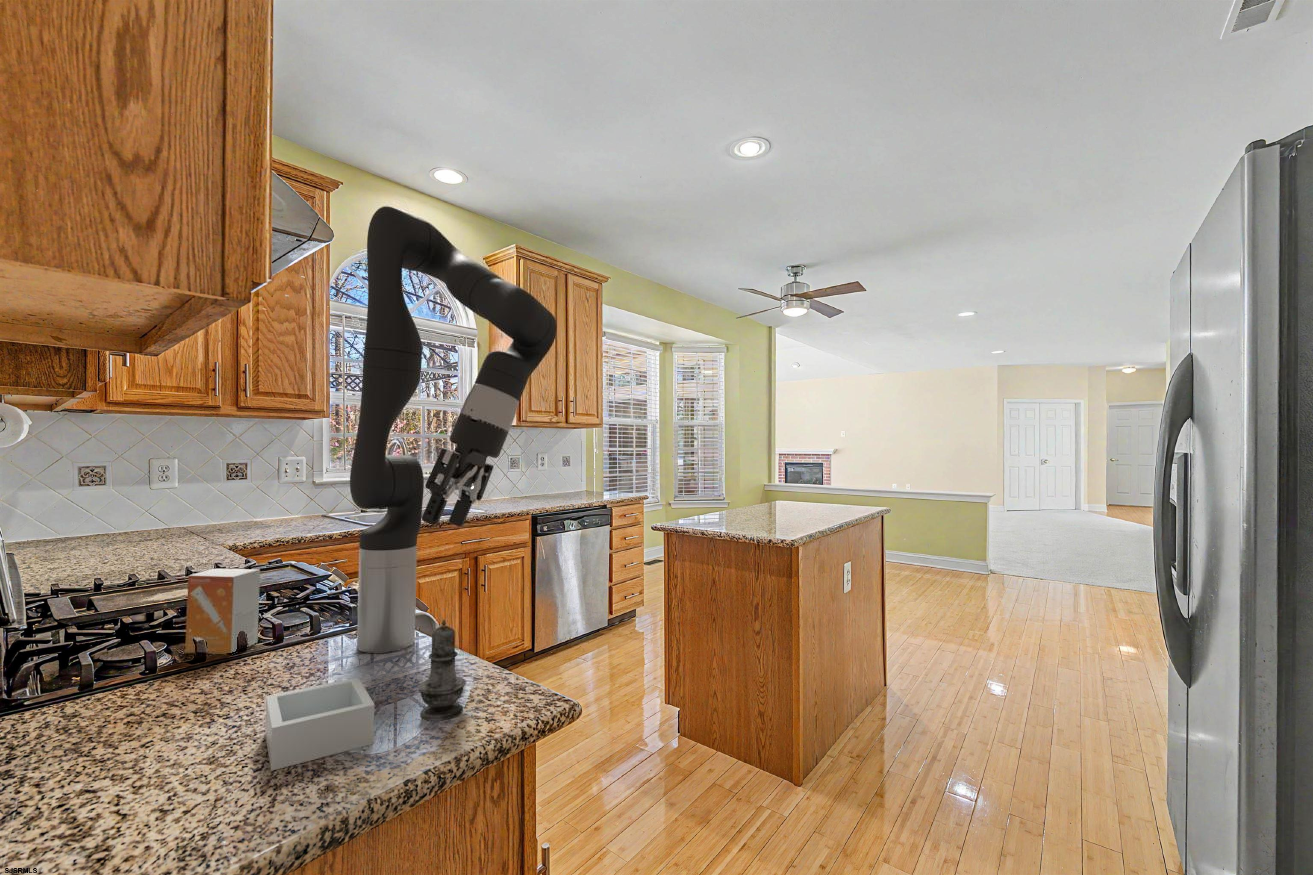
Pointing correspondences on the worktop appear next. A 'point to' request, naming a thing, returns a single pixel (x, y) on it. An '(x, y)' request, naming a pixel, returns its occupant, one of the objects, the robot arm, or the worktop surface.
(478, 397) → the robot arm
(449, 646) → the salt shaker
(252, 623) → the small box
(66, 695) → the worktop surface
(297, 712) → the sleeve
